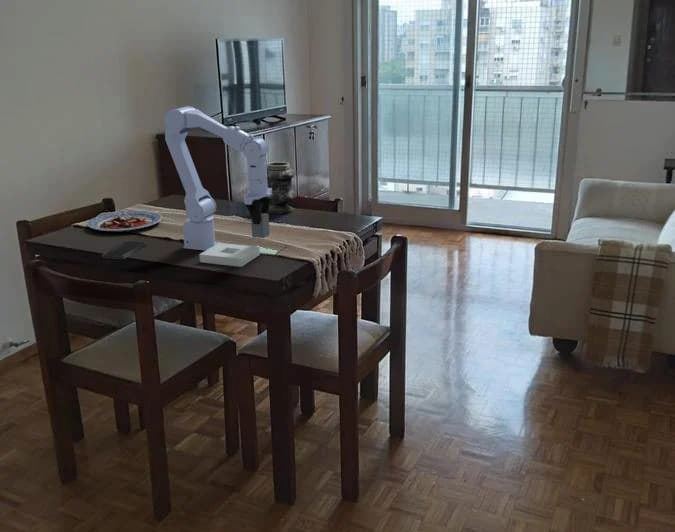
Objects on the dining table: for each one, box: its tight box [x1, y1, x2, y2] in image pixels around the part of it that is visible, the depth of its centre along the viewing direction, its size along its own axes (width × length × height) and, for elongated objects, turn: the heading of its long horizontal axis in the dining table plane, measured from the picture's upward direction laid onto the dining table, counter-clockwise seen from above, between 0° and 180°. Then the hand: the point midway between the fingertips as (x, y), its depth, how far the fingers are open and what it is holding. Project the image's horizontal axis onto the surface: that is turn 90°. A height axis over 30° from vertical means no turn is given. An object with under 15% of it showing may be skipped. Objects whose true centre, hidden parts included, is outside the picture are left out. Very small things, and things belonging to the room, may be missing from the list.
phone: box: [101, 241, 147, 260], centre depth 221 cm, size 8×1×15 cm
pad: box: [255, 245, 281, 256], centre depth 220 cm, size 9×9×1 cm
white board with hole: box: [199, 242, 261, 268], centre depth 212 cm, size 14×12×2 cm
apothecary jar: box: [266, 161, 296, 214], centre depth 264 cm, size 12×12×18 cm
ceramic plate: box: [86, 210, 163, 233], centre depth 250 cm, size 26×26×3 cm
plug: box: [250, 213, 270, 239], centre depth 216 cm, size 4×4×7 cm
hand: (260, 222), depth 216 cm, fingers closed on plug, 4 cm apart
